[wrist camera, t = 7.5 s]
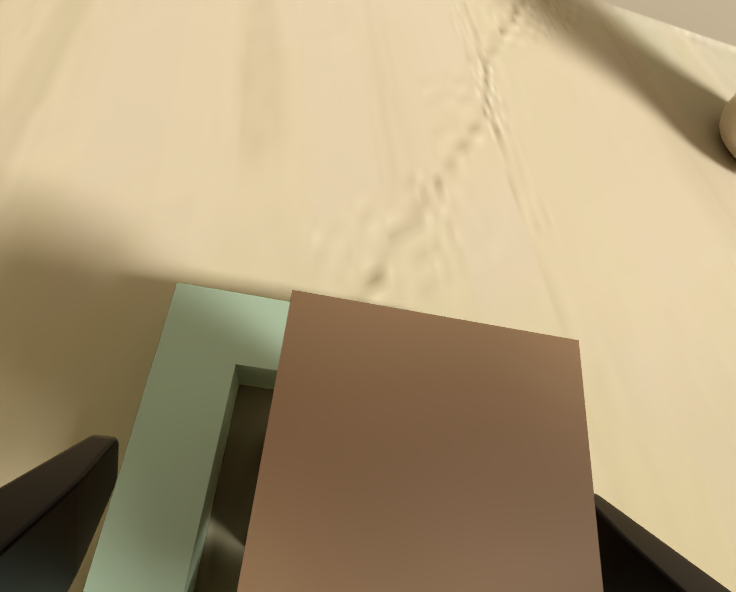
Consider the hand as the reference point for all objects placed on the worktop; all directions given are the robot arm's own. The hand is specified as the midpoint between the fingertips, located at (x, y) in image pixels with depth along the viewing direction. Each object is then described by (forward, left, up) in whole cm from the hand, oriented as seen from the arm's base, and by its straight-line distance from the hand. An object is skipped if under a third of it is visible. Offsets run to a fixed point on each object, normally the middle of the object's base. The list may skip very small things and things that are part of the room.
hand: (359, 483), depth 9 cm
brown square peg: (0, 0, -9) cm, 9 cm away
